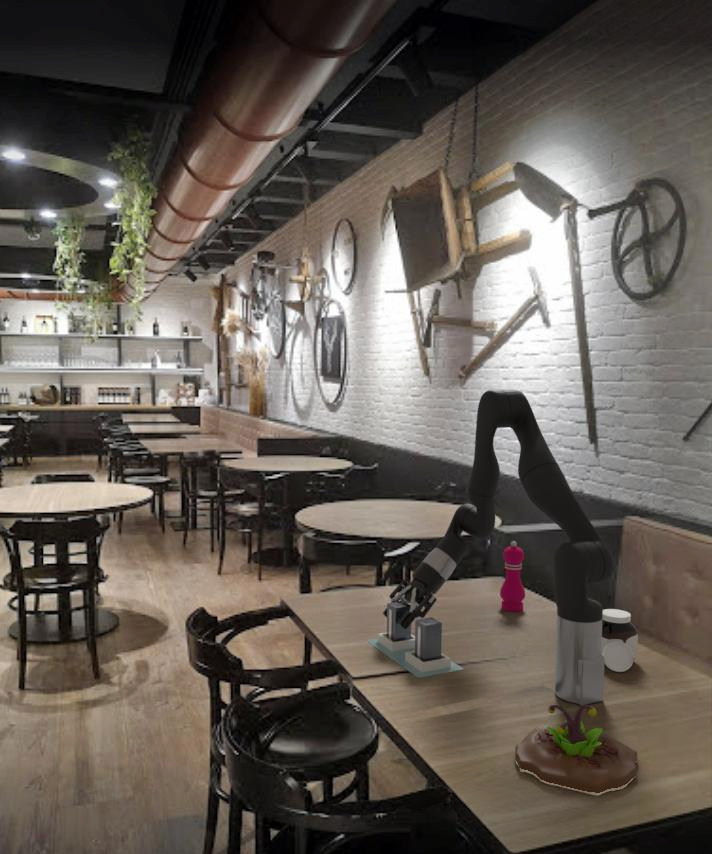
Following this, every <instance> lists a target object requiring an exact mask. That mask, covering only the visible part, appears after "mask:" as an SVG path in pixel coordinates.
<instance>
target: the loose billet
mask: <svg viewBox="0 0 712 854" xmlns="http://www.w3.org/2000/svg"><path fill="white" fill-rule="evenodd" d="M399 601H400V602H392V603H391V602H387V603H386V604H387V605H386V608H387V617H386V632H387V638H388V639H390V640H391V641H393V642H397V641H404V640H410V639H411V634H412V623H411V624H410V626H409V627H408V628H407V629H404V628H403V627H402V626H401V625H400V624H399V623H400V621H401V620H402V619H403V618H404V616H405V615H406V614H407V613H408V612H410V608H411V604H410V603H408V604H407V603H405V602H404V601H401V600H399Z"/></svg>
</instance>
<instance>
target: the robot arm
mask: <svg viewBox="0 0 712 854" xmlns="http://www.w3.org/2000/svg"><path fill="white" fill-rule="evenodd" d="M475 427H476V429H475V442H474V456H473V465H472V469H471V473H470V478H469V482H468V486H467V491H466V496H467V498H468V500H469V501H470V503H464V504H462V505H460V506H458V508H457V509H456V511H454V514H453V516H452V519H451V521H450V524H449V526H448V528H447V530H446V531H445V534H444V536H443V538H441V540H440V541H439V542H438V543H437V545H436V546H435V547H434V549H432V551H430V552H429V553H428V554H427V555H426V556H425V558H424V559H423V561H421V562H420V564H419V565H418V566H417V568H416V569H415V570H414V571H413V573H412V574H411V576H412V580H411V581H410V582H408V580H406V579H402V581H400V583H399V584H398V585H397V586H396V587H395V588H394V590H392V592H391V593H390V595H389V598H390V601H391V602H390V603H392V602H400V601H404V602H405V603H407V604H409V605H411V608H410V612H408V613H407V614H406V615H405V616H404V618H403V619H402V620H401V621H400V623H399V624H400V625H401V626H402V627H403V628H404V629H407V628H408V627H409V626H410V624H411V625H412V623H413V622H414V621H415V620H416V619H418V618H420V619H425V618H426V617H425V616H426V615H427V614H428V613H429V611H430V610H431V609H432V607H433V606H434V605H435V603H436V602H437V600H438V599H437V598H436V596H435V595H436V594H437V593H438V592H439V590H440V589H441V588H442V587H443V585H444V584H445V583H446V581H447V580H448V579H449V578H450V576H451V575H452V574H453V572H454V570H455V569H456V567H457V566H458V565H459V564H460V563H461V561H462V560H463V559H464V557H465V556H466V555H467V553H468V551H469V546H468V544H467V542H466V541H465V540H464V539H463V538H462V537H461V536H462V533H463V532H464V533H465V534H468V535H469V536H471V537H472V538H474V539H476V540H479V541H484V540H487V539H488V538H489V537H490V536H491V535H492V533H493V532H494V530H495V528H496V527H495V525H496V509H495V508H496V503H495V502H496V501H495V497H496V493H497V490H498V485H499V480H500V475H501V473H500V471H501V470H500V469H501V468H500V464H499V461H498V459H497V456H496V451H495V448H494V440H495V435H496V432H497V429H500V428H510V429H511V430H512V432H513V433H514V434H515V436H516V439H517V440H518V443H519V446H520V451H519V458H518V459H519V460H518V465H517V474H518V478H519V481H520V483H521V485H522V487H523V489H524V491H525V493H526V494H527V496H528V499H529V500H530V502H531V503H532V504H533V505H534V506H535V507H536V508H537V509H538V510H539V511H540V512H541V513H542V514H544V515H545V516H546V517H548V518H549V519H550V520H552V521H553V523H554V524H556V525H557V526H558V527H559V528H561V530H562V531H563V533H564V534H565V535H566V537H567V539H568V540H569V541H567V542H562V543H561V544H560V545H558V547H557V548H556V549H555V553H554V556H553V597H554V602H555V604H556V605H555V606H556V612H557V613H556V616H557V617H556V641H555V642H556V643H555V644H556V645H555V646H556V647H555V672H554V673H555V678H554V679H555V680H554V681H555V682H554V693H555V695H556V696H557V697H558V698H559V699H561V700H564V701H566V702H569V703H573V704H578V705H579V706H583V705H584V704H585V705H589V704H593V703H598V702H602V701H604V690H605V688H604V687H605V657H604V656H602V655H601V644H602V617H603V610H604V609H603V606H602V604H601V603H600V602H599V601H597V600H595V599H593V598H589V597H588V593H587V589H588V588H587V585H594V584H595V585H596V584H600V583H603V582H607V581H608V580H609V579H610V578H611V577H612V575H613V571H614V562H613V557H612V554H611V552H610V550H609V547H608V546H607V544H606V543H605V541H604V540H603V538H602V537H601V535H600V534H599V532H598V531H597V529H596V528H595V527H594V525H593V524H592V522H591V521H590V519H589V518H588V516H587V514H586V513H585V511H584V510H583V508H582V507H581V504H580V502H579V501H578V499H577V497H576V496H575V494H574V492H573V491H572V489H571V487H570V484H569V482H568V480H567V479H566V477H565V475H564V473H563V470H562V469H561V467H560V465H559V463H558V462H557V460H556V458H555V457H554V455H553V453H552V451H551V449H550V447H549V445H548V444H547V441H546V439H545V438H544V435H543V434H542V430H541V429H540V426H539V424H538V422H537V419H536V415H535V414H534V412H533V409H532V406H531V404H530V402H529V400H528V398H527V397H526V395H525V394H524V393H523V392H521V390H518V389H489V390H486V391H484V393H483V394H482V395H481V396H480V399H479V402H478V405H477V413H476V425H475ZM471 503H472V504H471ZM382 615H383V616H384V617H385V618H387V607H386V608H385V609H384V611H383V612H382Z"/></svg>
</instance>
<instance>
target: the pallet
mask: <svg viewBox="0 0 712 854" xmlns="http://www.w3.org/2000/svg"><path fill="white" fill-rule="evenodd" d="M365 642H367V643H368V644H370V645H372V647H374V648H376V649H377V650H379V651H380V652H381V653H382V654H384V655H385V656H387V657H389V658H390V659H391V660H393V661H394V662H396V663H397V664H398V665H400V666H401V667H403V668H404V669H405V670H406V671H408V672H410V673H411V674H412V675H413V676H415V677H416V678H418V679H420V678H425V677H430V676H436V675H441V674H442V675H443V674H447V673H451V672H452V673H453V672H458V671H461V670H462V671H463V670H464V668H463V667H462V666H460V665H459V664H457V663H455V662H453V661H452V658H450V657H449V656H447V655H446V654H444V653H442V652H441V659H438V660H432V661H426V662H423V661H421V660H420V659H418V658H417V657H415V634H414V635H413V634H412V633H411V639H410V640H404V641H397V642H393V641H391V640H390V639H388V638H387V631H386V632H382V633H381V632H380V633H377V638H372V639H371V638H370V639H366V640H365Z"/></svg>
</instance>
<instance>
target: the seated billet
mask: <svg viewBox="0 0 712 854" xmlns="http://www.w3.org/2000/svg"><path fill="white" fill-rule="evenodd" d="M414 621H415V623H414V624H415V625H414V630H415V631H414V632H415V633H414V636H415V657H417V658H418V659H420V660H421V661H423V662H426V661H432V660H438V659H441V653H442V642H443V641H442V638H443V637H442V634H443V633H442V632H443V630H442V629H443V625H442V624H443V622H441V621H439V620H437V619H435V618H434V617H424V618H419V619H418V618H417V619H414Z"/></svg>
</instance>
